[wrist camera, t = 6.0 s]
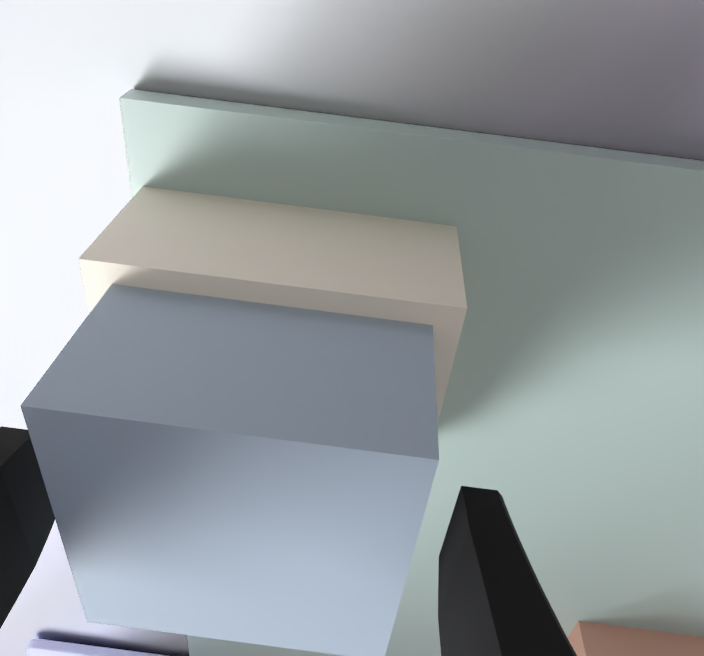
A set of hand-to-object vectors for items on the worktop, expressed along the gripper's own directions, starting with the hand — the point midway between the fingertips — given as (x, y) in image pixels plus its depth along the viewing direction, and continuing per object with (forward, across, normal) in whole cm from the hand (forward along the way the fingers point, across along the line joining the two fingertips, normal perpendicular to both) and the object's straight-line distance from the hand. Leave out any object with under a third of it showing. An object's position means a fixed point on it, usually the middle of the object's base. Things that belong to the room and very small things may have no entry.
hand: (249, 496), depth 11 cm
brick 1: (+5, 0, 0) cm, 5 cm away
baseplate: (+5, -6, +6) cm, 10 cm away
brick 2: (+2, 0, 0) cm, 2 cm away
